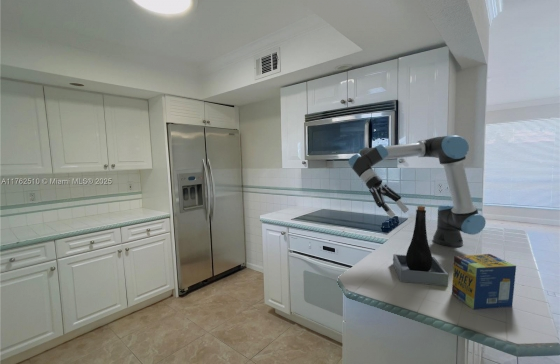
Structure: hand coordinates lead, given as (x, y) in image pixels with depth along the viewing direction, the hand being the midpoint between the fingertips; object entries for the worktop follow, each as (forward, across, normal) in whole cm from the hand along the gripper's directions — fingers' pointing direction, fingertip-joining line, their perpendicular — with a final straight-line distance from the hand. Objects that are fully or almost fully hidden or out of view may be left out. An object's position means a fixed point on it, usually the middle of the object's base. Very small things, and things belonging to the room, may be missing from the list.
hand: (400, 213), depth 121 cm
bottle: (+24, 0, -12) cm, 27 cm away
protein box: (+42, +5, +4) cm, 42 cm away
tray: (+25, 0, -12) cm, 28 cm away
